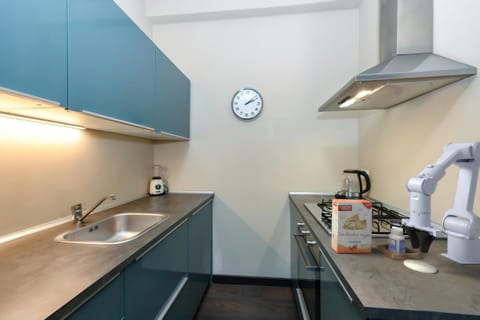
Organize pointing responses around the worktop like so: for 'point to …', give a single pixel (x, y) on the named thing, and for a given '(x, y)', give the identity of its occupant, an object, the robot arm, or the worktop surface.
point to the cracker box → (351, 226)
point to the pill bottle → (396, 241)
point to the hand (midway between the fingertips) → (419, 250)
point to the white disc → (420, 266)
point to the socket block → (411, 254)
